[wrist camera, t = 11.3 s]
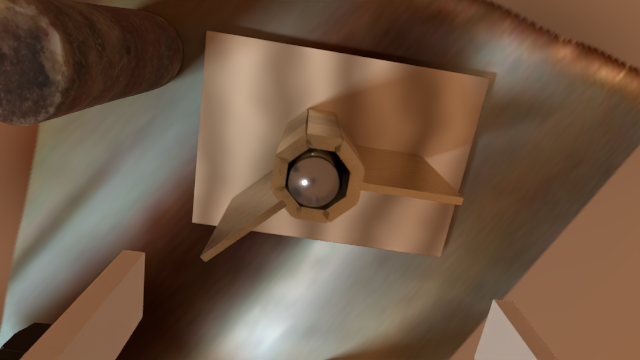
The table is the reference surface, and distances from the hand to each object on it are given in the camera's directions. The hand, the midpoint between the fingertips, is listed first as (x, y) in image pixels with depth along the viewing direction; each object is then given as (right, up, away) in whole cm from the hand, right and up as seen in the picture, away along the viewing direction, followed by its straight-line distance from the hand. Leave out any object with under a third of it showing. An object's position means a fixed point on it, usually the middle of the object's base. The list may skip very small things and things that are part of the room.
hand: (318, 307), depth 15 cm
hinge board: (+2, +8, +29) cm, 30 cm away
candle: (-17, +18, +26) cm, 35 cm away
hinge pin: (0, +9, +27) cm, 28 cm away
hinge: (+1, +6, +28) cm, 29 cm away
